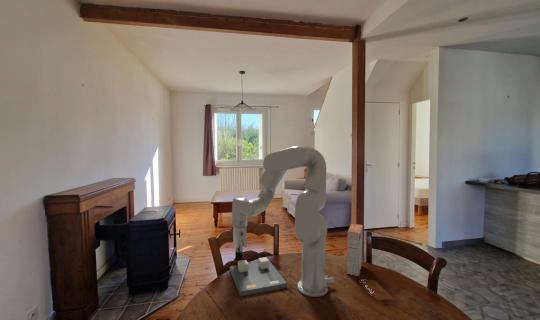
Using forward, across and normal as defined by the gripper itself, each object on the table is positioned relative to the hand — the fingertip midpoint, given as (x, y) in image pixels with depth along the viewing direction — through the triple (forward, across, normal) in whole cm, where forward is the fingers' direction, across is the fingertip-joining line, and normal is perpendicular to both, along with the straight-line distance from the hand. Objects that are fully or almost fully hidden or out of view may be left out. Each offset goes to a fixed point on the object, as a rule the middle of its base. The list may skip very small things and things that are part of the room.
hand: (238, 259), depth 121 cm
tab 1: (+1, -8, 0) cm, 8 cm away
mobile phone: (+4, -37, -50) cm, 63 cm away
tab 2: (+1, -8, -10) cm, 13 cm away
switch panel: (+4, -13, -5) cm, 15 cm away
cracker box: (+3, -20, -53) cm, 57 cm away
